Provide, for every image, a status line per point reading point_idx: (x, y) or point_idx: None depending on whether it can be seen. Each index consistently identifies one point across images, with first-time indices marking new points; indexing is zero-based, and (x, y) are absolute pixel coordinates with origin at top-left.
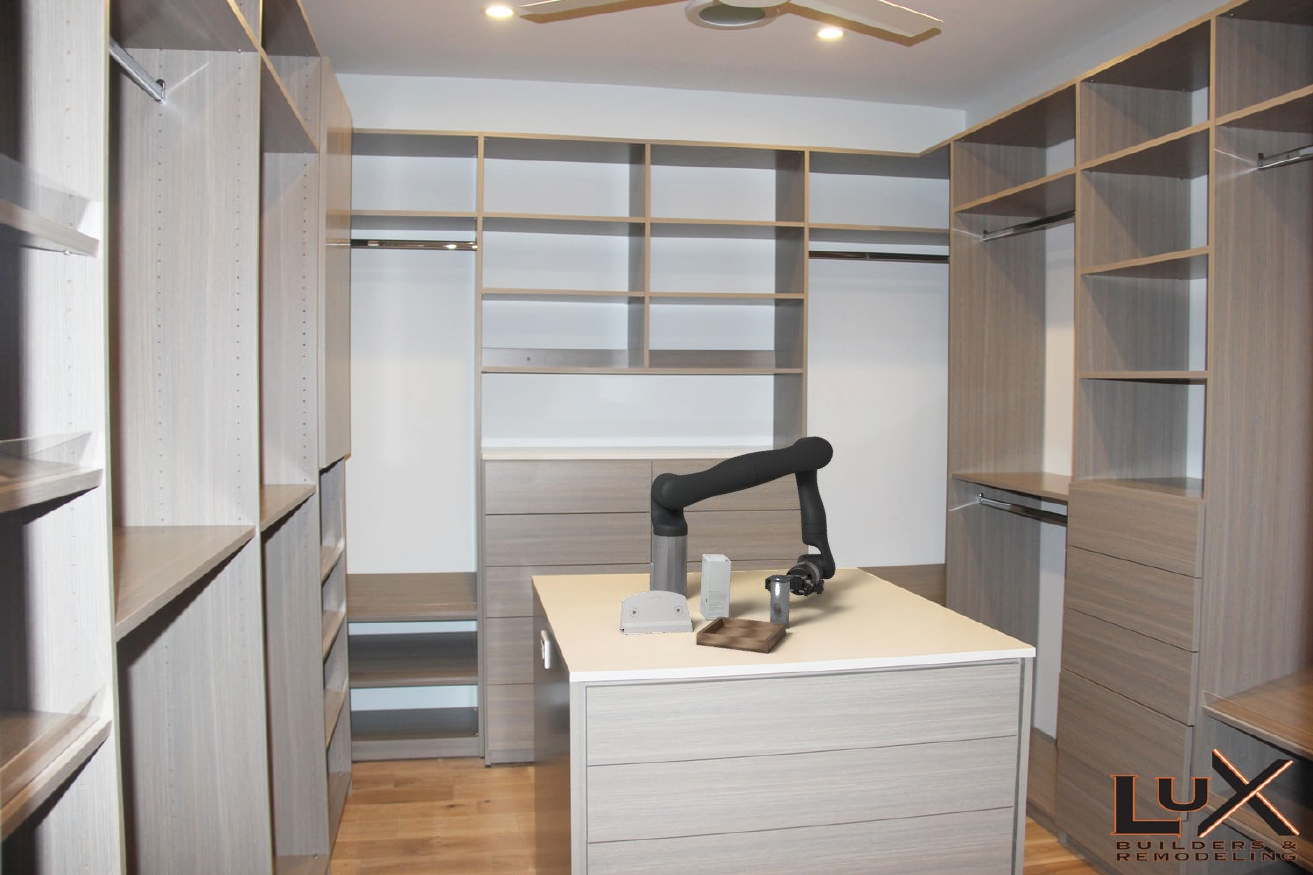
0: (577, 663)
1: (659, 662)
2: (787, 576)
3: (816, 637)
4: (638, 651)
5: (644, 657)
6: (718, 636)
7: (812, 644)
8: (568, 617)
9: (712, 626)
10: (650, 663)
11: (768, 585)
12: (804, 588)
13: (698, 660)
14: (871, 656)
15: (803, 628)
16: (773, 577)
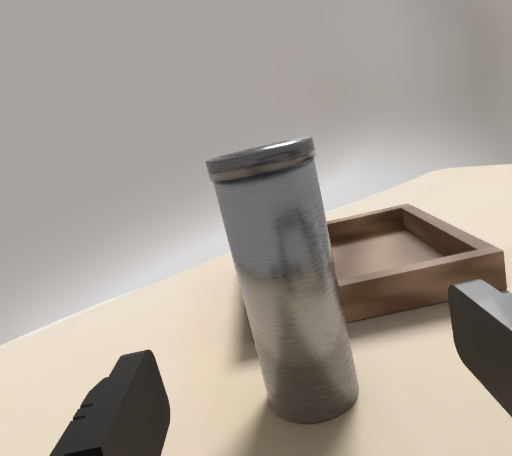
0: (471, 167)
1: (388, 197)
2: (223, 158)
3: None
4: (459, 191)
5: (425, 192)
6: (357, 216)
7: (160, 328)
8: None
9: (432, 228)
10: (396, 193)
11: (506, 295)
12: (148, 352)
13: (346, 215)
14: (21, 341)
15: (202, 430)
16: (284, 141)
